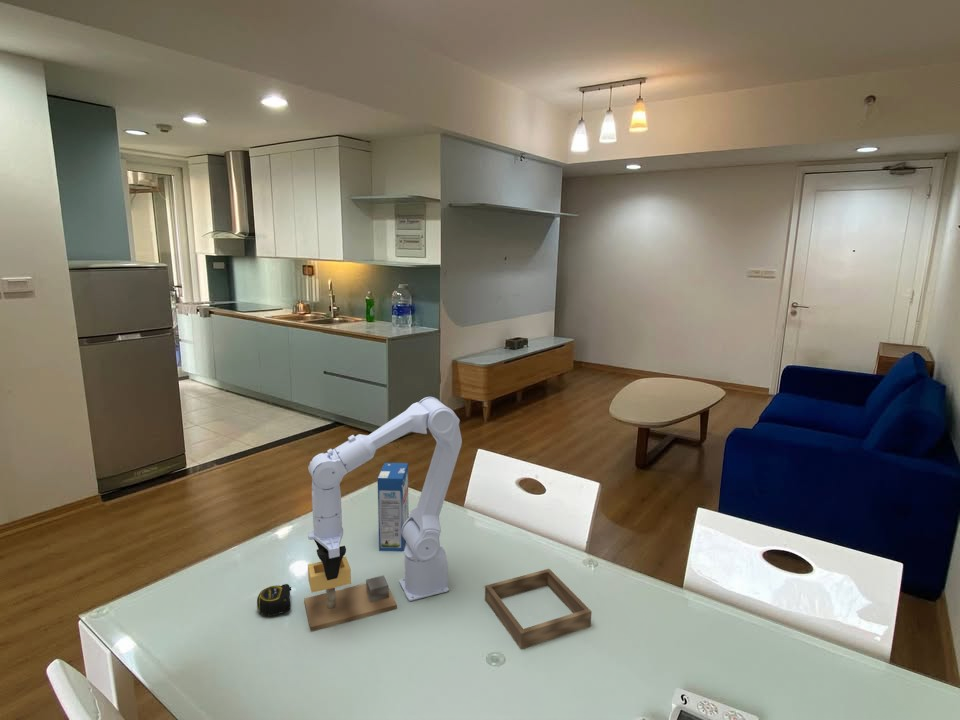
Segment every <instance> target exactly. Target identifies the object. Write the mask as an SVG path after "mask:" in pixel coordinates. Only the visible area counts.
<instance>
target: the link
mask: <svg viewBox="0 0 960 720" xmlns="http://www.w3.org/2000/svg"><path fill="white" fill-rule="evenodd" d="M347 558H348V557H347V556H343V558H342V561H341V564H340V569H339V574H338V577H337V578H336V579H332V580H327V578H326V575H325V571H324V566H323V563H322V561H318V562H313V563H308V564H307V578H308V583H309V588H310V592H311V593H317V592H321V591H326V589H330V588H335V589H336V588H338V587H342V586H343V587H344V586H346V585H351V584H352V576H351V575H352V572H351V571H352V570H351V566H350V563H349V561H348V559H347Z"/></svg>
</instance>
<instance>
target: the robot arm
mask: <svg viewBox="0 0 960 720" xmlns="http://www.w3.org/2000/svg"><path fill="white" fill-rule="evenodd" d="M460 422H461V420H460V418H459V417H458V416H457V414H456V413H455V411H454V410H452V409H451V408H450V407H448V406H446V405H445V404H443V402H442V401H440V399H438V398H436V397H433V396H426V397H424V398H422V399H421V400H419V401H417V402H414V403H412V404H411V405H410V406H409V407H408V408H406V410H404V411H403V412H402V413H399V414H398V415H396V416H395V417H394V418H392V419H391V420H389V421H388V422H386V423H384V424H383V425H381V426H380V427H379V428H377V429H375V430H373V432H371V433H370V434H368V435H367V434H360V433H358V434H357V435H356V436H355V435H354V434H352V435H351V434H350V436H348V437H347V439H348V440H347V441H345V442H343V443H341V444H340V445H338V446H337V447H334V448H333V449H332V448H329V449H327V452H325V453H324V452H321V453H318V454H317V455H315V456H313V458H312V460H310V462H309V465H308V467H307V468H308V469H307V470H308V472H309V474H310V476H311V482H312V483H311V506H312V523H313V526H312V527H313V528H312V529H313V531H309V532H308V533H307V538H308V540H310V541H313V540H314V542H315V544H316V546H317V549H316V554H317V557H318V559H319V560H320V562H322V563H323V566H324V571H325V575H326V578H327V580H332V579H336V578H337V577H338V574H339V569H340V564H341V561H342V558H343V557H345V555H346V552H347V548H346V547H347V546H346V545H342V546H340V544H341V541H342V538H343V535H344V527H343V514H342V491H341V487H340V486H341V485H340V483H341V482H342V480H343V478H344V477H345V476H346V475H347V474H349V473H351V472H352V471H354V470H355V469H358V468H359V467H360V466H362V465H364V464H366V463H367V462H368V461H371V460H372V459H373V458H374V457H375V454H376V452H377V450H378V449H380V448H382V447H383V446H386V445H387V444H389V443H391V442H393V441H395V440H397V439H399V438H401V437H403V436H404V435H406V434H408V433H411V432H412V433H416V434H418V433H419V434H421V435H422V434H424V435H427V434H428V431H427V430H429V432H430V434H431V436H432V437H433V439H434V440H435V442H436V444H435V449H434V451H433V453H432V457H431V461H430V464H429V467H428V470H427V473H426V477H425V480H424V483H423V487H422V490H421V493H420V497H419V499H418V502H417V505H416V507H415V508H414V509H412V510H411V511H410V513H409V518H408V519H407V520H406V522H405V523H404V524H403V526H402V529H401V534H402V537H403V538H404V539H405V540H406V543H405V547H404V550H403V552H404V553H403V554H404V578H401V579H399V585H400V586H401V588H402V590H403V592H404V594H405V596H406V598H407V600H408V601H409V602H412V601H417V600H420V599H423V598H428V597H431V596H435V595H439V594H443V593H446V592H449V590H450V588H449V585H448V582H449V581H448V580H449V579H448V577H449V575H448V573H449V572H448V571H449V569H448V566H449V564H448V563H449V562H448V558H447V553H446V550H445V549H444V547H443V546H441V542H440V541H441V540H440V536H441V532H442V529H441V522H440V520H441V519H440V514H441V511H442V508H443V506H444V505H443V504H444V502H445V499H446V496H447V493H448V489H449V486H450V484H451V480H452V477H453V473H454V471H455V467H456V464H457V461H458V457H459V454H460V451H461V447H462V444H463V438H462V433H461V430H460V428H461V427H460Z"/></svg>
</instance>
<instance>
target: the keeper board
mask: <svg viewBox="0 0 960 720" xmlns="http://www.w3.org/2000/svg"><path fill="white" fill-rule="evenodd" d="M303 600H304V606H305V607H304V608H305V611H306V617H307V621H308V626H309V629H310V632H314V631H317V630H322V629H325V628H329V627H333V626H334V627H335V626H336V625H340V624H344V623H348V622H352V621H357V620H360V619H364V618H367V617H371V616H374V615H378V614H382V613H385V612H389V611H390V612H391V611H393V610H397V609H398V604H397V602H396V599H395V598H394V595H393V593H392V590H391V589H390V587H389V583H388V581H387V579H386V577H385V575H380V576H375V577H371V578H367V579H365V583H362V584H358V585H355V586H349V587H346V588H342V589H337V590H336V587H335V588H330V589H326V590H325V592H324V593H321V594H317V595H316V594H315V595H313V596H309V597H308V596H307V597H305V598H304V599H303Z"/></svg>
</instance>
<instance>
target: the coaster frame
mask: <svg viewBox="0 0 960 720" xmlns="http://www.w3.org/2000/svg"><path fill="white" fill-rule="evenodd" d="M484 587H485V588H484V601H486V603H487V605H488V606H489V607H490V609H491V610H492V612H493V613H494V615H495V616H496V617H497V619H499V621H500V623H501V624H502V625H503V627H504V628H505V629H506V631H507V632H508V634H509V635H510V636H511V639H513V640H514V642H515V643H516V645H517V646H518V648H519V649H520V650H523V649H526V648H529V647H533V646H535V645H537V644H541V643H544V642H548V641H550V640H554V639H556V638H560V637H562V636H566V635H568V634H571V633H573V632H577V631H580V630H584V629H586V628H589V627H591V625H592V610H591V609H590V608H589V607H588V606H587V605H586V604H585V603H584V602H583V601H582V600H581V599H580V598H579V597H578V596H577V594H575V593H574V592H573V590H571V589H570V588H569V586H567V585H566V584H565V583H564V582H563V581H562V580H561V579H560V578H559V577H558V576H557V574H555V573H554V572H553V571H552V570H551V568H545V569H543V570H539V571H538V570H537V571H535V572H532V573H528V574H525V575H520V576H516V577H513V578H509V579H505V580H502V581H501V580H500V581H497V582H495V583H490V584H486V585H485V586H484ZM543 587H548V588H549V589H550V590H551V591H552V592H553V594H554V595H555V596H556V597H557V598H558V599H559V600H560V601H561V602H562V603H563V604H564V605H565V606H566V608H568V610H570V611H571V613H570V614H567V615H564V616H563V615H562V616H561V617H557V618H553V619H551V620H548V621H544V622H541V623H538V624H534V625H531V626H528V627H525V628H523V626H522V625H521V623H520V622H519V621H518V620H517V619H516V617H515V616H514V614H513V613H512V612H511V611H510V609H509V608H508V606H507V605H506V604H505V603H504V601H503V600H502V599H505V598H507V597H511V596H514V595H515V596H516V595H518V594H522V593H525V592H530V591H531V590H532V591H533V590H536V589H539V588H543Z"/></svg>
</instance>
